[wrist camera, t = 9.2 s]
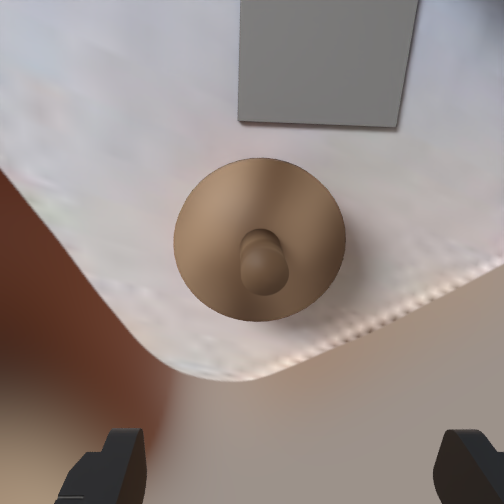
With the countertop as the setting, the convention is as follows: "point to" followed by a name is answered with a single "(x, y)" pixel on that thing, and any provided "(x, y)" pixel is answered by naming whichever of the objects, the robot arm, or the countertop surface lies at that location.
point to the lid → (259, 240)
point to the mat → (323, 60)
